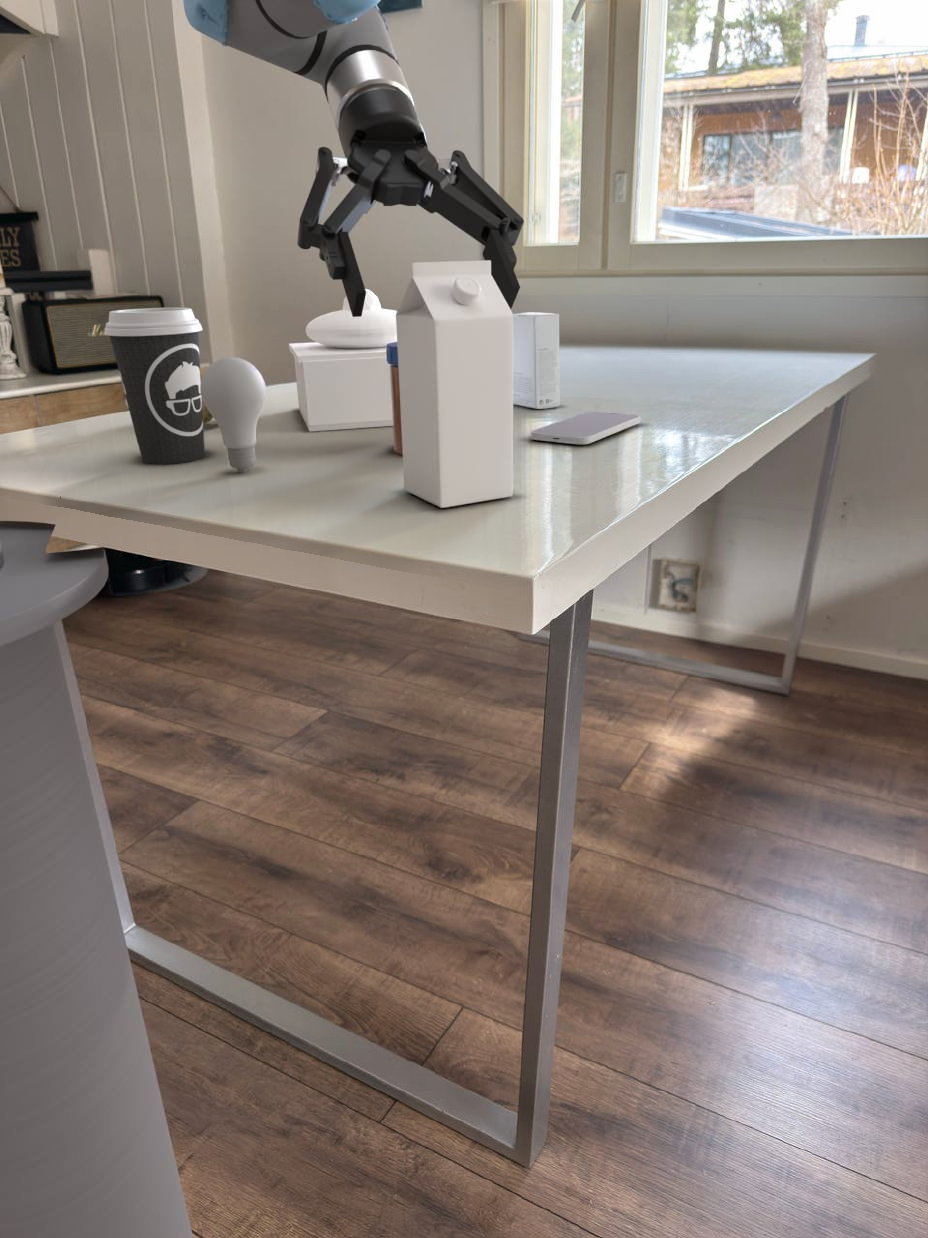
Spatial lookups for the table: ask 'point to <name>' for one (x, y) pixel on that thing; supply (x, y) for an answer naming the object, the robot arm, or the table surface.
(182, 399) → the coffee cup
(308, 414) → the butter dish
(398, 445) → the jar
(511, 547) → the table surface
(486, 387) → the milk carton
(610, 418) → the smartphone
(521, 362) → the cosmetic box
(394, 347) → the jar lid
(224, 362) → the lightbulb
